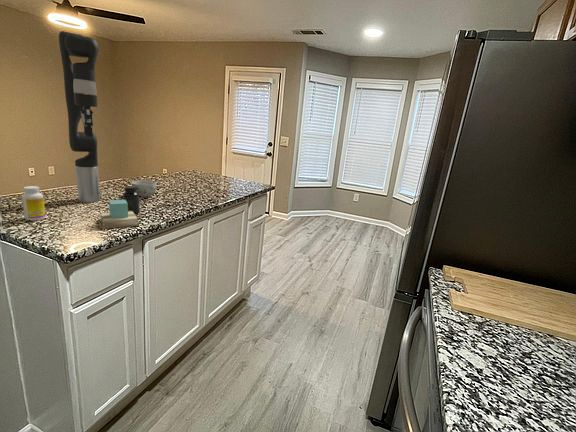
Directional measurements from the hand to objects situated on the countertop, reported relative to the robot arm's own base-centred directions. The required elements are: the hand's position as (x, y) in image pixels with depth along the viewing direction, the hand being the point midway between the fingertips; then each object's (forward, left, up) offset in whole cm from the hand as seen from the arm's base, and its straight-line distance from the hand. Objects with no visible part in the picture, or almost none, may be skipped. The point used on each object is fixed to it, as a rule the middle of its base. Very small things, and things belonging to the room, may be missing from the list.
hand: (88, 135), depth 125 cm
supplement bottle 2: (-2, +15, -34) cm, 37 cm away
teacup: (-31, +27, -34) cm, 53 cm away
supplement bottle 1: (-2, -20, -34) cm, 40 cm away
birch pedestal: (+12, +8, -34) cm, 37 cm away
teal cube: (+12, +8, -31) cm, 34 cm away
